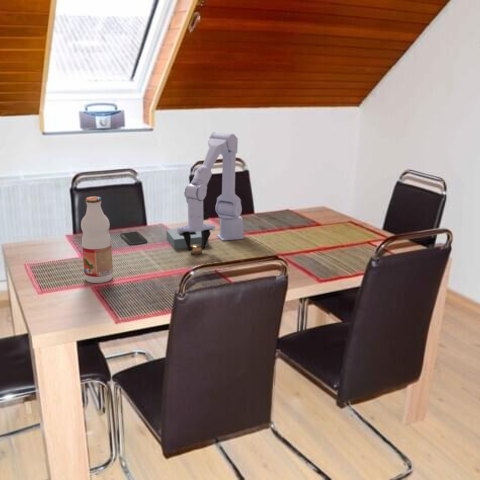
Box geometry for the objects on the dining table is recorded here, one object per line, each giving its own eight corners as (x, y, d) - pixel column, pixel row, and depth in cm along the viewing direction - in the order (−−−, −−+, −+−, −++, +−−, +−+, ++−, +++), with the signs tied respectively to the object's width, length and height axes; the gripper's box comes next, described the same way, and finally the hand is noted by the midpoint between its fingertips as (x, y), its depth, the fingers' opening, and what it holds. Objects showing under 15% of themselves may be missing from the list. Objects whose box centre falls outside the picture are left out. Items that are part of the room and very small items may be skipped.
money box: (199, 235, 235) (199, 226, 233) (208, 245, 222) (208, 236, 221) (166, 238, 230) (166, 229, 229) (174, 249, 218) (174, 239, 216)
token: (200, 251, 216) (200, 243, 215) (203, 254, 212) (203, 247, 211) (189, 252, 215) (189, 244, 214) (192, 255, 211) (192, 248, 210)
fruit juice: (111, 283, 184) (106, 201, 175) (82, 284, 183) (75, 201, 174) (114, 273, 193) (110, 194, 184) (87, 273, 192) (80, 194, 183)
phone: (129, 243, 221) (119, 233, 234) (129, 246, 222) (119, 236, 234) (148, 241, 225) (137, 231, 237) (148, 243, 225) (137, 233, 238)
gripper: (179, 219, 203) (180, 254, 207) (217, 216, 208) (217, 251, 212) (174, 214, 209) (175, 249, 213) (211, 212, 214) (212, 245, 218)
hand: (196, 249), depth 213 cm, fingers open, 5 cm apart
